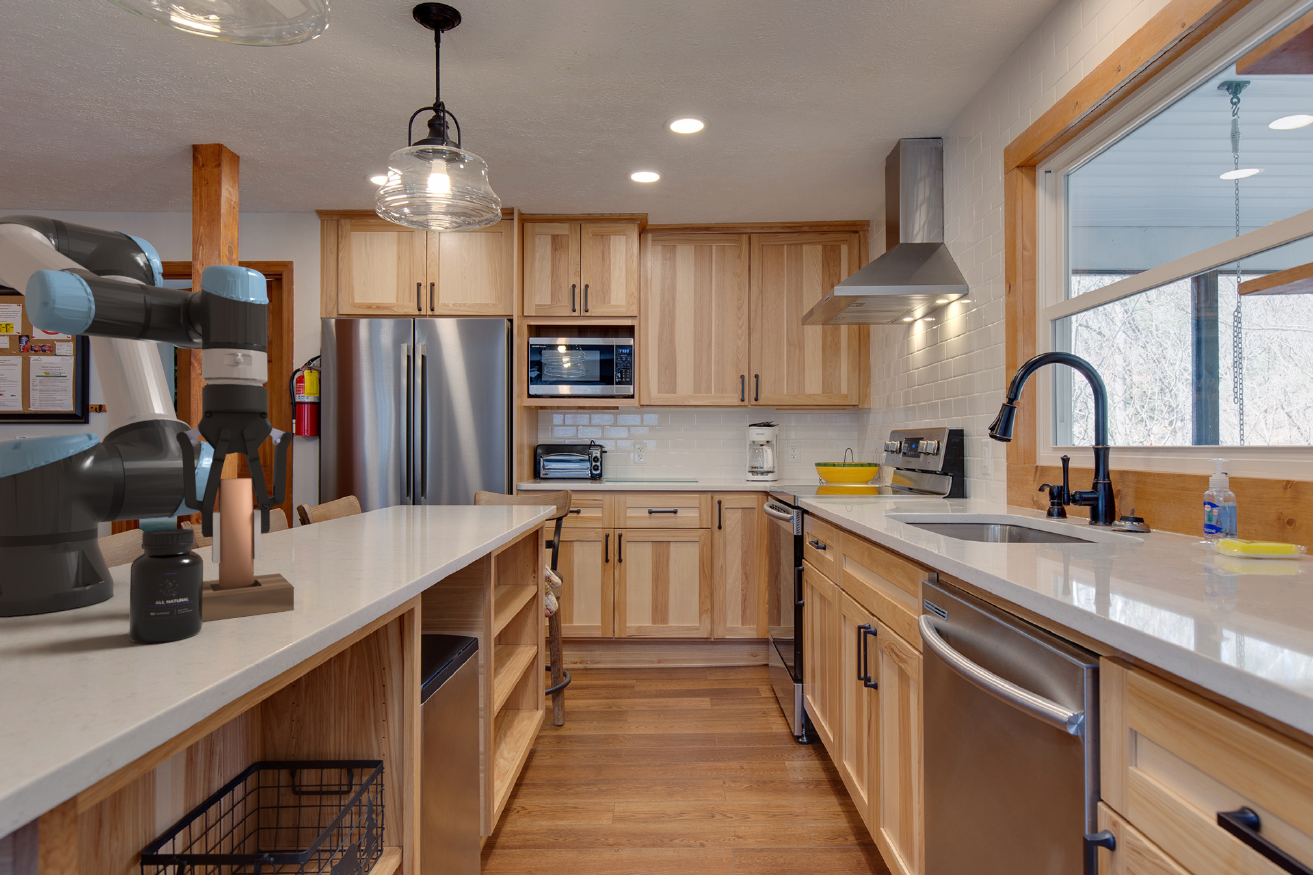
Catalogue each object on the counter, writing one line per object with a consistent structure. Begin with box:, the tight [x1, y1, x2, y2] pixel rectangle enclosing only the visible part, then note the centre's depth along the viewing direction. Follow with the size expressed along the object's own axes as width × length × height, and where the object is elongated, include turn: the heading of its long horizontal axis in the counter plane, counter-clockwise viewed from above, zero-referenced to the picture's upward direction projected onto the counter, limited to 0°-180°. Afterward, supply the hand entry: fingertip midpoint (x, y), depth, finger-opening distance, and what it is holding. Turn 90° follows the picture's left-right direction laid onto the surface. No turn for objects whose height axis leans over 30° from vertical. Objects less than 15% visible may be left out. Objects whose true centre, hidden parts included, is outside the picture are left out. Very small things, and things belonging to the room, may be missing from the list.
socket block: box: [202, 573, 295, 623], centre depth 93 cm, size 12×12×3 cm
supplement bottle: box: [129, 528, 204, 644], centre depth 80 cm, size 7×7×12 cm
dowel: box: [217, 477, 255, 587], centre depth 93 cm, size 4×4×14 cm
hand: (236, 559), depth 93 cm, fingers closed on dowel, 4 cm apart
